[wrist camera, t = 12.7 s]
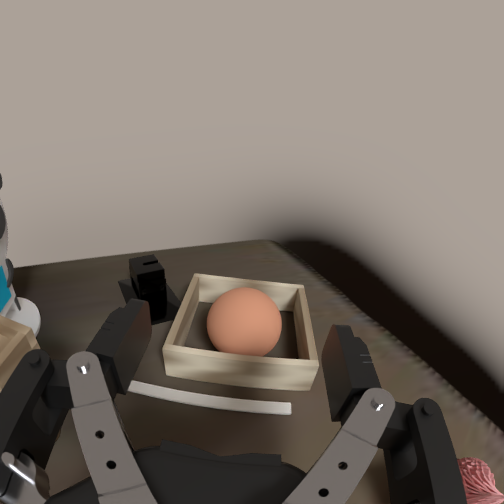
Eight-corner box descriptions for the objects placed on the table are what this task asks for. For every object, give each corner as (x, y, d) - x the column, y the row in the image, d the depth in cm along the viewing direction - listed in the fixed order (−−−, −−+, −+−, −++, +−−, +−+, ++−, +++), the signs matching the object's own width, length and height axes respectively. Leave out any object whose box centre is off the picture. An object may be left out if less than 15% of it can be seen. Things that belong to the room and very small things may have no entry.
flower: (480, 562, 2) (540, 461, 4) (358, 521, 8) (416, 435, 10) (474, 537, 5) (514, 469, 7) (391, 511, 12) (429, 450, 14)
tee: (12, 438, 10) (-53, 352, 7) (35, 398, 14) (-12, 309, 11) (57, 465, 10) (-14, 384, 7) (78, 418, 14) (31, 327, 11)
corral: (166, 375, 20) (162, 348, 19) (194, 297, 30) (194, 273, 29) (309, 390, 20) (319, 366, 19) (298, 308, 30) (303, 285, 29)
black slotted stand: (202, 325, 27) (202, 286, 25) (132, 345, 23) (123, 305, 21) (160, 269, 36) (159, 236, 34) (107, 280, 32) (102, 246, 30)
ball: (204, 364, 23) (197, 340, 18) (214, 305, 27) (211, 268, 22) (274, 372, 23) (286, 350, 18) (277, 312, 27) (288, 276, 22)
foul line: (66, 371, 18) (65, 369, 18) (71, 363, 19) (70, 361, 19) (290, 414, 18) (291, 413, 18) (290, 404, 19) (290, 402, 19)
